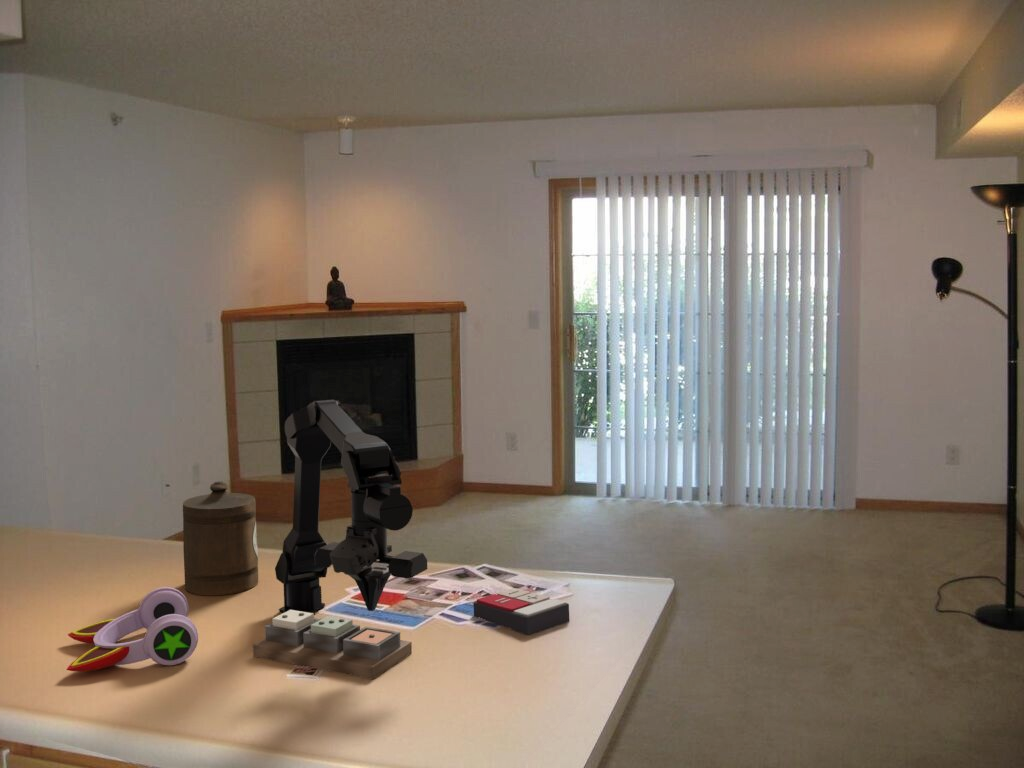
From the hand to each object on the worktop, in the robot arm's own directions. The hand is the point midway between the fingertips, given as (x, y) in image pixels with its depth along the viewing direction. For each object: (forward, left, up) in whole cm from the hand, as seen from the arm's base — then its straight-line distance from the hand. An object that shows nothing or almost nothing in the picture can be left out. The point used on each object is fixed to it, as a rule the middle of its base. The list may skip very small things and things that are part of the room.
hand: (371, 610), depth 165 cm
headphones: (-41, -13, -10) cm, 44 cm away
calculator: (+14, +30, -10) cm, 34 cm away
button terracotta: (0, 0, -7) cm, 7 cm away
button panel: (-8, 0, -9) cm, 12 cm away
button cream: (-16, 0, -5) cm, 17 cm away
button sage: (-8, 0, -5) cm, 10 cm away
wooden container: (-52, +23, -9) cm, 58 cm away
